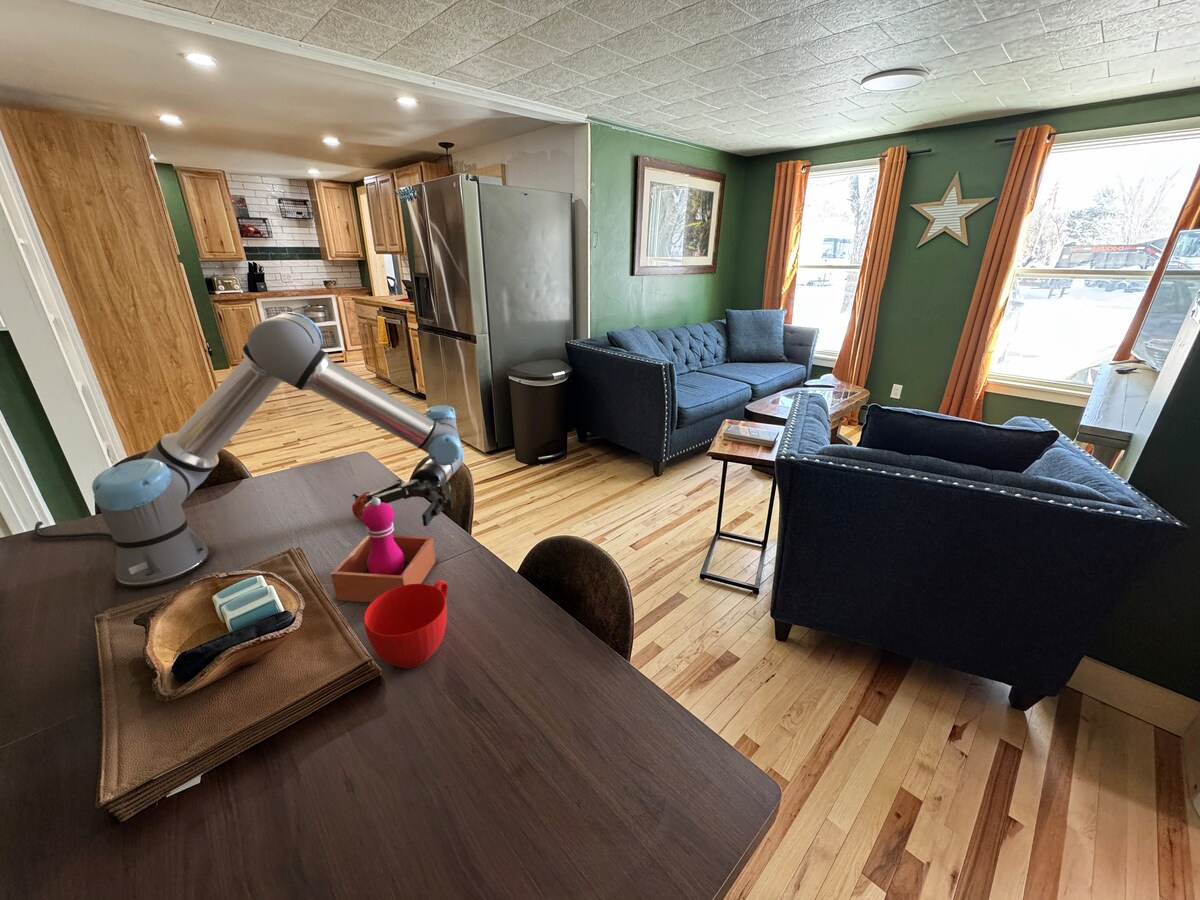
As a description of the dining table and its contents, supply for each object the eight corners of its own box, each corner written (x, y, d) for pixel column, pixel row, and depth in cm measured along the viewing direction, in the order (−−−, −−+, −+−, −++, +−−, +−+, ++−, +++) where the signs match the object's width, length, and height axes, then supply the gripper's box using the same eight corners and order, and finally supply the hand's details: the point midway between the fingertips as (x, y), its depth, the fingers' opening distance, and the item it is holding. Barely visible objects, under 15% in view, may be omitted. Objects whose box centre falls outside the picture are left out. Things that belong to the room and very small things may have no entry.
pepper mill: (394, 592, 98) (380, 509, 90) (363, 587, 99) (346, 504, 91) (413, 571, 104) (401, 491, 97) (384, 567, 106) (370, 487, 98)
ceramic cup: (477, 622, 91) (473, 579, 87) (419, 693, 76) (411, 645, 72) (421, 606, 94) (415, 564, 91) (355, 670, 79) (344, 624, 76)
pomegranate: (390, 518, 129) (364, 493, 130) (396, 505, 124) (370, 479, 125) (367, 534, 123) (340, 507, 124) (373, 520, 119) (345, 492, 119)
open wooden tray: (337, 600, 95) (330, 573, 93) (373, 557, 109) (369, 533, 106) (407, 604, 95) (402, 578, 92) (435, 561, 108) (432, 537, 106)
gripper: (383, 461, 121) (334, 500, 101) (478, 465, 120) (448, 506, 100) (387, 487, 124) (341, 530, 104) (480, 492, 123) (451, 536, 103)
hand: (393, 518), depth 102 cm, fingers open, 13 cm apart
